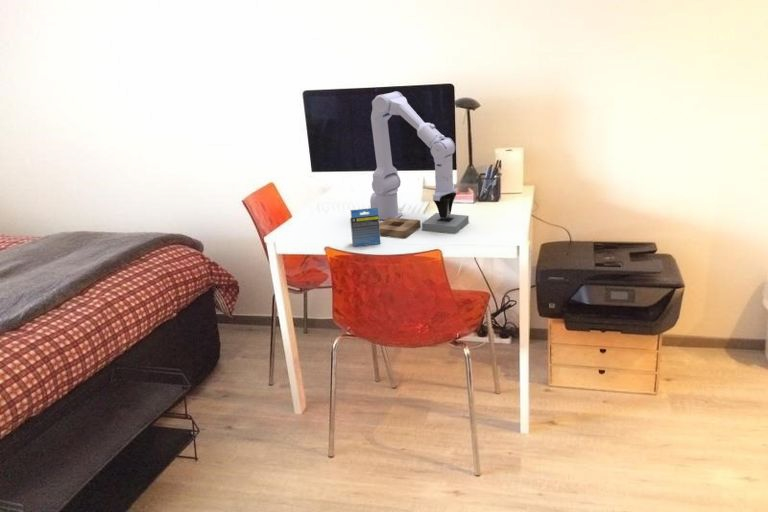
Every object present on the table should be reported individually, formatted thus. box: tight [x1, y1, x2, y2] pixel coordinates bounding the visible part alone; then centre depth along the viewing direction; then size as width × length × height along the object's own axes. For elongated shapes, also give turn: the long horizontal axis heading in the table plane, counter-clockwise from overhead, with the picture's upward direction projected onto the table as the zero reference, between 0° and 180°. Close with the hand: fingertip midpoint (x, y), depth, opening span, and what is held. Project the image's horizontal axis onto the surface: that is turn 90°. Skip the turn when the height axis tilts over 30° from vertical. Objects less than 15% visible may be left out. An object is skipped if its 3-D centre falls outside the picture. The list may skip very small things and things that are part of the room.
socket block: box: [379, 217, 422, 239], centre depth 205 cm, size 12×12×2 cm
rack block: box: [421, 212, 470, 234], centre depth 206 cm, size 12×12×2 cm
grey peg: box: [440, 204, 450, 222], centre depth 205 cm, size 3×3×9 cm
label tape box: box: [349, 207, 381, 248], centre depth 194 cm, size 9×4×12 cm, turn 98°
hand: (445, 215), depth 205 cm, fingers closed on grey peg, 3 cm apart
